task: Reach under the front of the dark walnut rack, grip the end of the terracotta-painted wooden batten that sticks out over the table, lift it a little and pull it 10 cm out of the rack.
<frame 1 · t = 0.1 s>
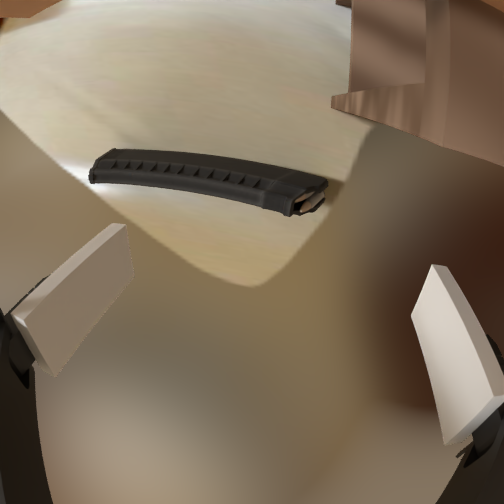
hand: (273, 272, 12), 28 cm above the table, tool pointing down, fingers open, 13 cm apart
magazine: (212, 165, 39), on the table
rack: (385, 57, 28), on the table
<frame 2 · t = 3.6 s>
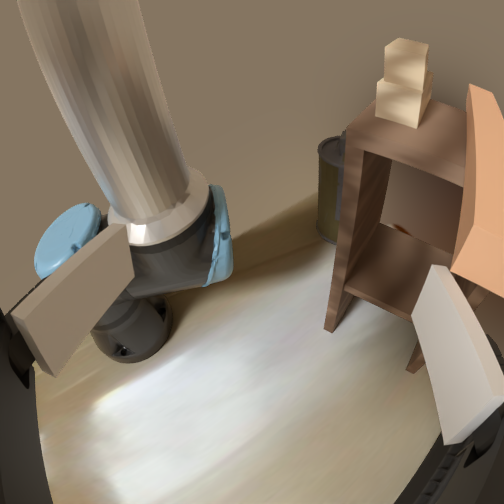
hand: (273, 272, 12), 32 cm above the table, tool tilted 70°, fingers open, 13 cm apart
magazine: (415, 486, 25), on the table
batten: (483, 150, 16), point 32 cm above the table, touching gripper
rack: (385, 318, 43), on the table
canister: (342, 228, 57), on the table
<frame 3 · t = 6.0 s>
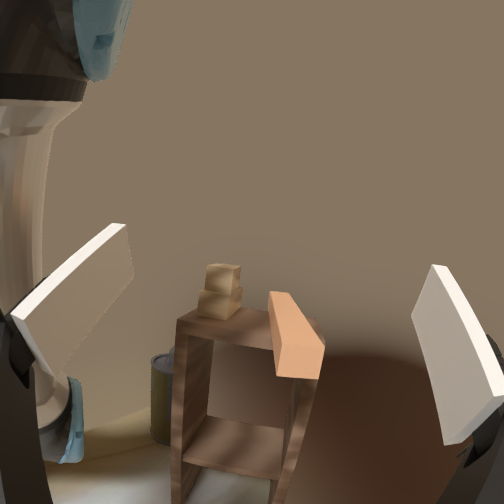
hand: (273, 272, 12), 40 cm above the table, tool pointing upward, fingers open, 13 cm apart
batten: (283, 329, 33), point 32 cm above the table, touching rack
rack: (230, 494, 37), on the table
canister: (174, 433, 53), on the table
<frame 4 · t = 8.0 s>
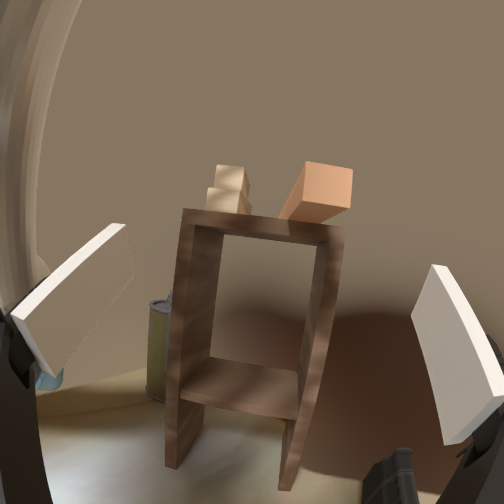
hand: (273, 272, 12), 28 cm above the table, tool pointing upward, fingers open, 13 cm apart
batten: (298, 225, 31), point 32 cm above the table, touching rack
rack: (235, 454, 35), on the table
canister: (172, 392, 51), on the table
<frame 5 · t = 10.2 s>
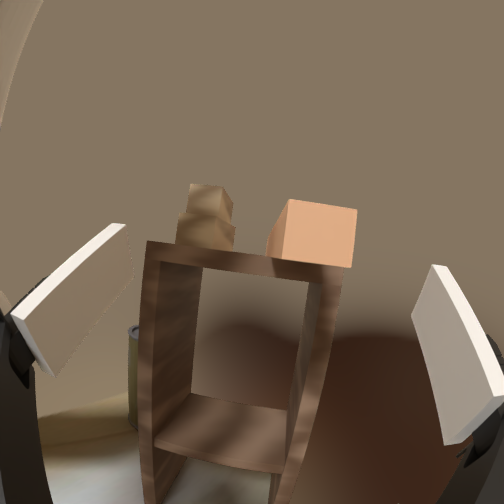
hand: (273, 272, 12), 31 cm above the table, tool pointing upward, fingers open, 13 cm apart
batten: (286, 258, 26), point 32 cm above the table, touching rack
rack: (219, 493, 29), on the table
canister: (156, 421, 45), on the table
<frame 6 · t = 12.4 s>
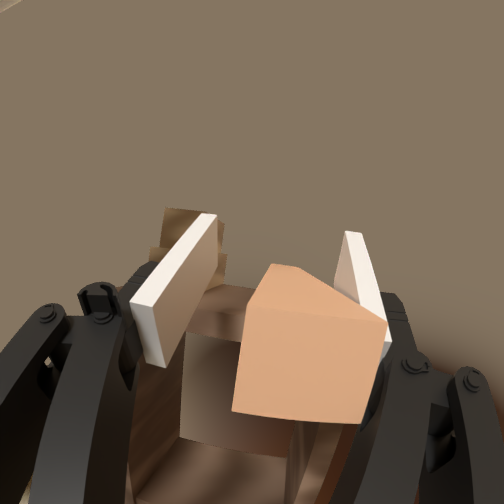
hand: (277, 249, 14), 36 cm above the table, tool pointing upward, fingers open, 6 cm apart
batten: (284, 309, 20), point 32 cm above the table
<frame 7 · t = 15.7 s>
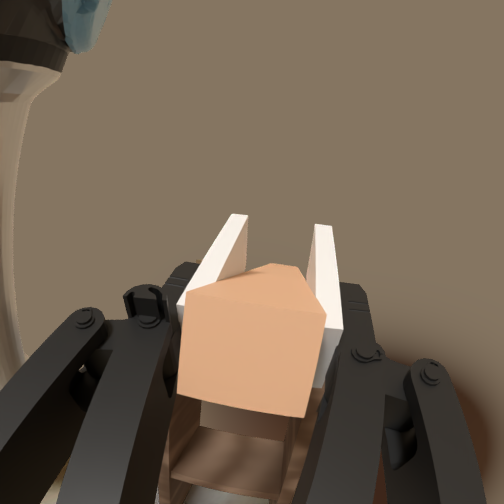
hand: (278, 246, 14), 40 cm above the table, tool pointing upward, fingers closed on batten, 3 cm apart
batten: (274, 307, 20), point 36 cm above the table, touching gripper
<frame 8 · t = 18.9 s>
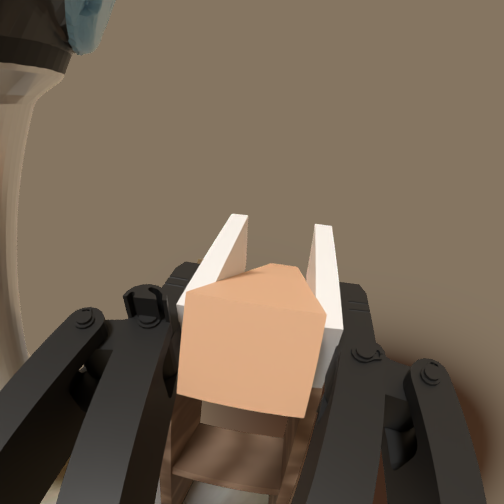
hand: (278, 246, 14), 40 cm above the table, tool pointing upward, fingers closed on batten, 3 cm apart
batten: (274, 307, 20), point 36 cm above the table, touching gripper
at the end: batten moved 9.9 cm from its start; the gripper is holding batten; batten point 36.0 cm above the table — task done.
